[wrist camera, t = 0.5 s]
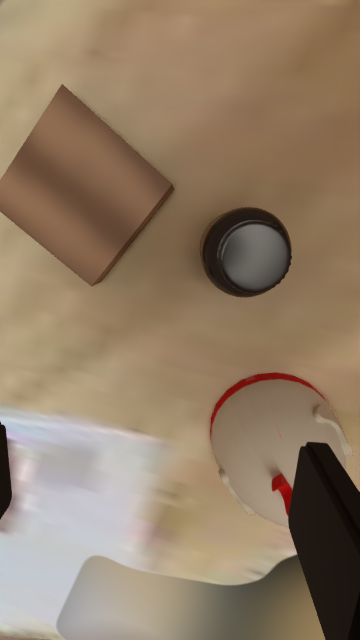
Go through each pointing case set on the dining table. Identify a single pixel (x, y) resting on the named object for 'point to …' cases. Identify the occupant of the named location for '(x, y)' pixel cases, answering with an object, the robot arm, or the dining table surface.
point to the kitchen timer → (270, 439)
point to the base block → (80, 188)
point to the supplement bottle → (246, 252)
